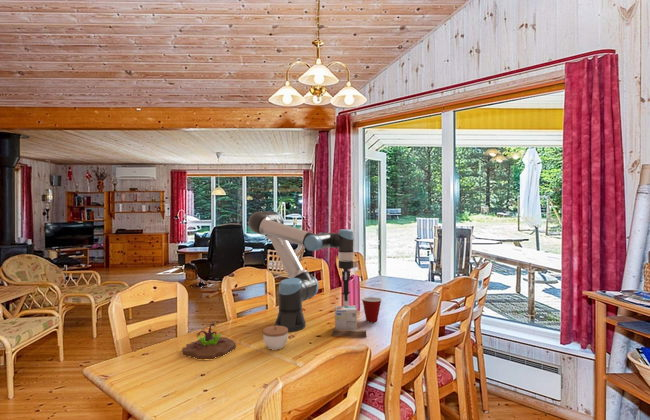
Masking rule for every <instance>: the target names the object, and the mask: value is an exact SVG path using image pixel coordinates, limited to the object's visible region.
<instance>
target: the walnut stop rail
mask: <svg viewBox="0 0 650 420" xmlns="http://www.w3.org/2000/svg"><path fill="white" fill-rule="evenodd" d="M331 336H332V337H350V338H351V337H353V338H354V337H356V338H357V337H359V338H367V330H366V329H357V330H345V329H335V328H332V330H331Z"/></svg>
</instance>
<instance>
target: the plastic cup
mask: <svg viewBox="0 0 650 420" xmlns="http://www.w3.org/2000/svg"><path fill="white" fill-rule="evenodd" d="M382 300H383V298H381V297H376V296H366V297H361V301H362V305H363V311H364V315H365V321H366V322H367V323H377V322H378V319H379V315H380V310H381V309H380V308H381V303H382Z"/></svg>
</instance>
